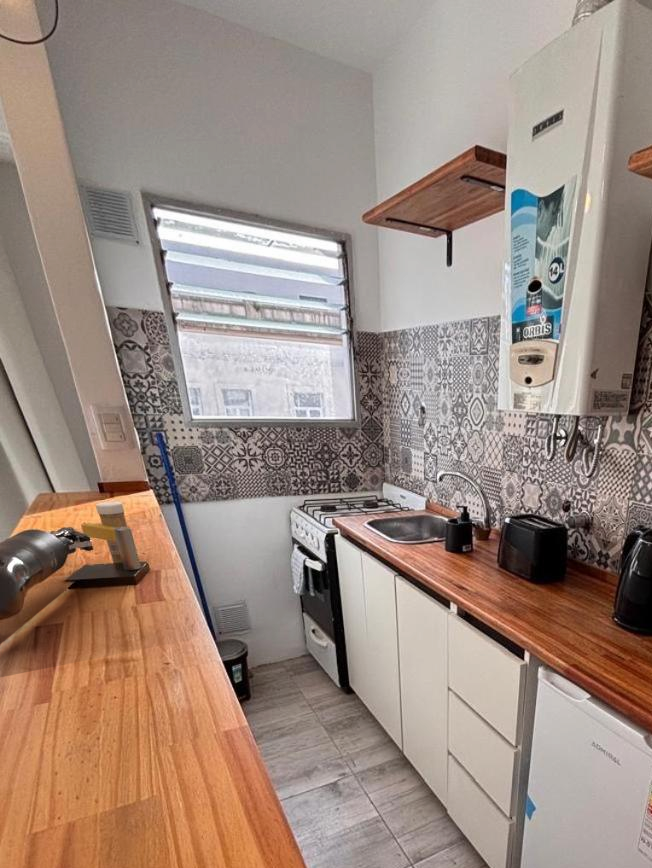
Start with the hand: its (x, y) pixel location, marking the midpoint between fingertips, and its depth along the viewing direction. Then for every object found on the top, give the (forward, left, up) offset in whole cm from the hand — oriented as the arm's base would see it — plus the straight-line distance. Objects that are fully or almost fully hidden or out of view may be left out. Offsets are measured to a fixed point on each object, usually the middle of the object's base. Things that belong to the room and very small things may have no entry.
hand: (69, 532), depth 98 cm
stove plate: (+4, 0, -10) cm, 11 cm away
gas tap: (+5, +3, -8) cm, 10 cm away
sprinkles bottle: (+5, +8, -10) cm, 14 cm away
